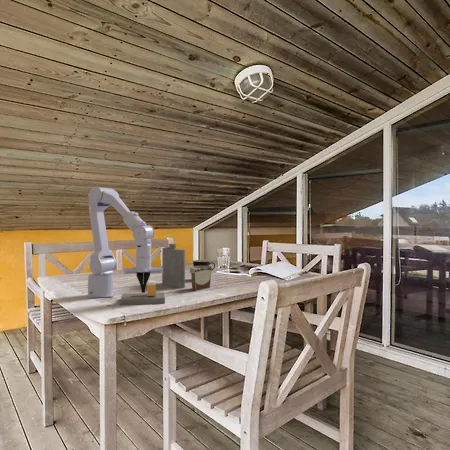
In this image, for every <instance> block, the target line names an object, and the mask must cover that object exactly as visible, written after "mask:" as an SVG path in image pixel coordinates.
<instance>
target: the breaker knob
mask: <svg viewBox="0 0 450 450" xmlns="http://www.w3.org/2000/svg"><path fill="white" fill-rule="evenodd" d="M156 285H157V284H156V280H148V281H147V293H148V295H147V296H156V293H157V292H156V291H157V287H156Z"/></svg>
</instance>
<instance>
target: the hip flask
mask: <svg viewBox="0 0 450 450" xmlns="http://www.w3.org/2000/svg"><path fill="white" fill-rule="evenodd" d="M176 247H177V243H168V247H165V246H164V247H162V261H161V262H162V264H161V266H162V267H161V268H163V273H161V284H162V285H164V286H167V287H172V288H177V289H185V288H186V249H182V248H176Z"/></svg>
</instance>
